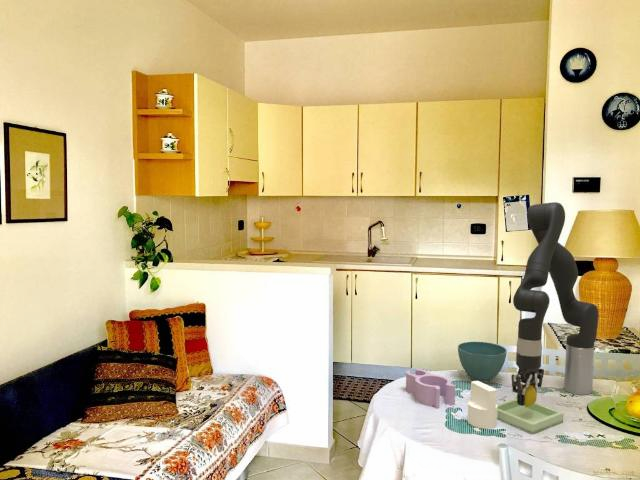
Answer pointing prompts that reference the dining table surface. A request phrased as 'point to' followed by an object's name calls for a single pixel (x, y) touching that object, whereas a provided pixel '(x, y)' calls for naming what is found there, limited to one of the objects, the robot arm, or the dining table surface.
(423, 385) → the clip
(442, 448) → the dining table surface
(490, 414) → the base with upright slab
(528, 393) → the lemon
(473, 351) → the teal bowl
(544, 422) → the tray
